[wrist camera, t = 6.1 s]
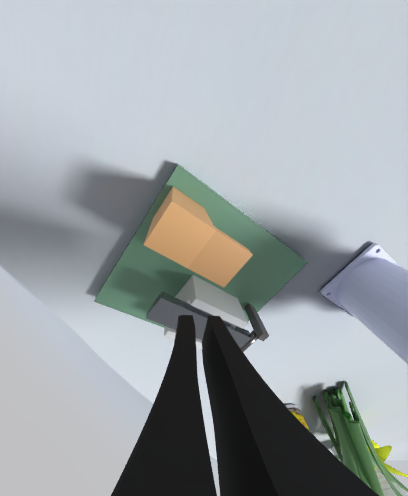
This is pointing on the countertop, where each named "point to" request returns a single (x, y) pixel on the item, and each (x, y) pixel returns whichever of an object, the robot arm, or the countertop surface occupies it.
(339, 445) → the daffodil flowers
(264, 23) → the countertop surface
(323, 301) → the countertop surface
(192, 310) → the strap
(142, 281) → the board
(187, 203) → the orange l-shaped block
